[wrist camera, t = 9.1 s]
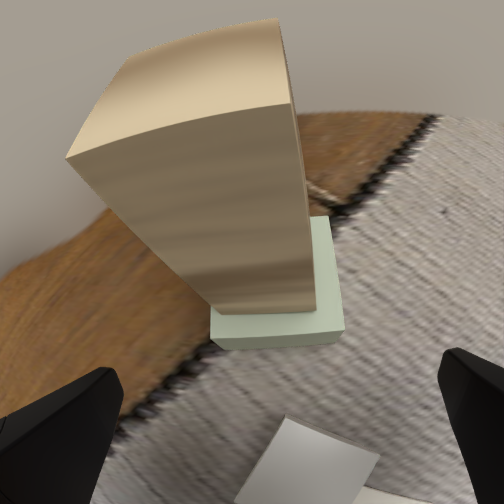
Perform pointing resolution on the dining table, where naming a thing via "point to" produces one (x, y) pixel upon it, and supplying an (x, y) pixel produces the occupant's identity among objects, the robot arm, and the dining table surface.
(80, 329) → the dining table surface
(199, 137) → the maple pillar
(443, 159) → the dining table surface
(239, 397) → the dining table surface
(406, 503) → the card
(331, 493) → the grey cube
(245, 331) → the sage base block
